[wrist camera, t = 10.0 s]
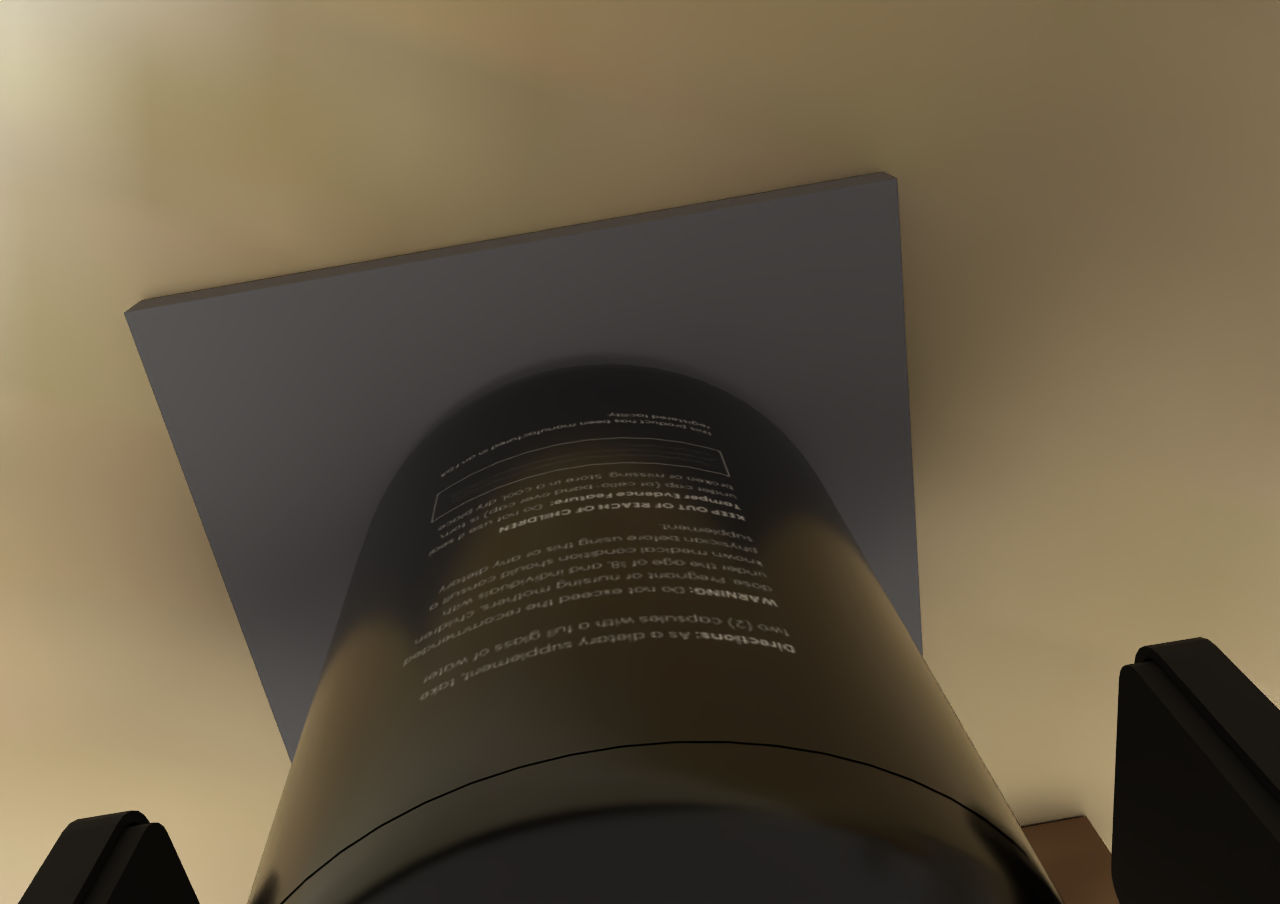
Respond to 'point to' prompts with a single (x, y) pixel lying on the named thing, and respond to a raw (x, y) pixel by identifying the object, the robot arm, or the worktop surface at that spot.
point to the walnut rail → (1074, 860)
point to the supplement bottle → (628, 680)
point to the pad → (515, 349)
